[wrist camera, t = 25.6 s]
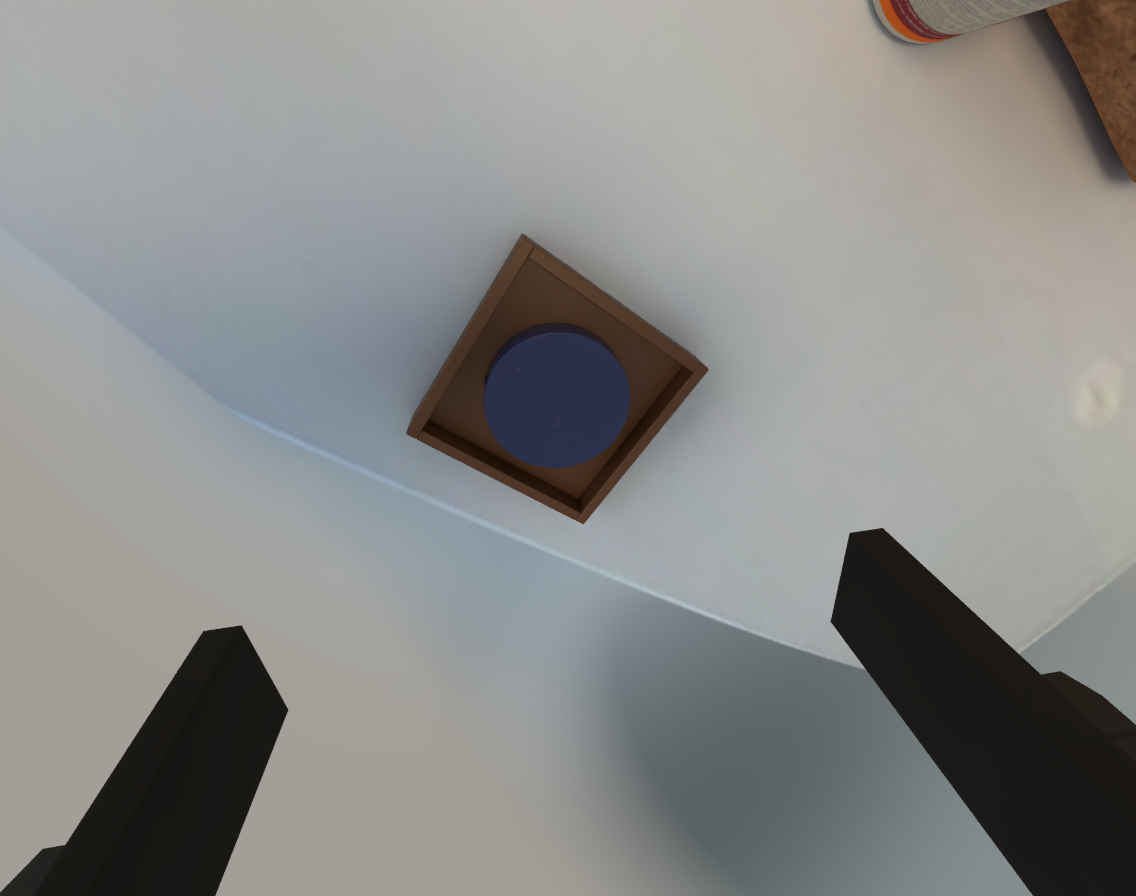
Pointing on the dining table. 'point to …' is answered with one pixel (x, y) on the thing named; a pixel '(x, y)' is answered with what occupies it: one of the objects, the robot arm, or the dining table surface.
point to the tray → (532, 297)
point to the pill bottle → (950, 16)
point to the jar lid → (556, 395)
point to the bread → (1105, 63)
